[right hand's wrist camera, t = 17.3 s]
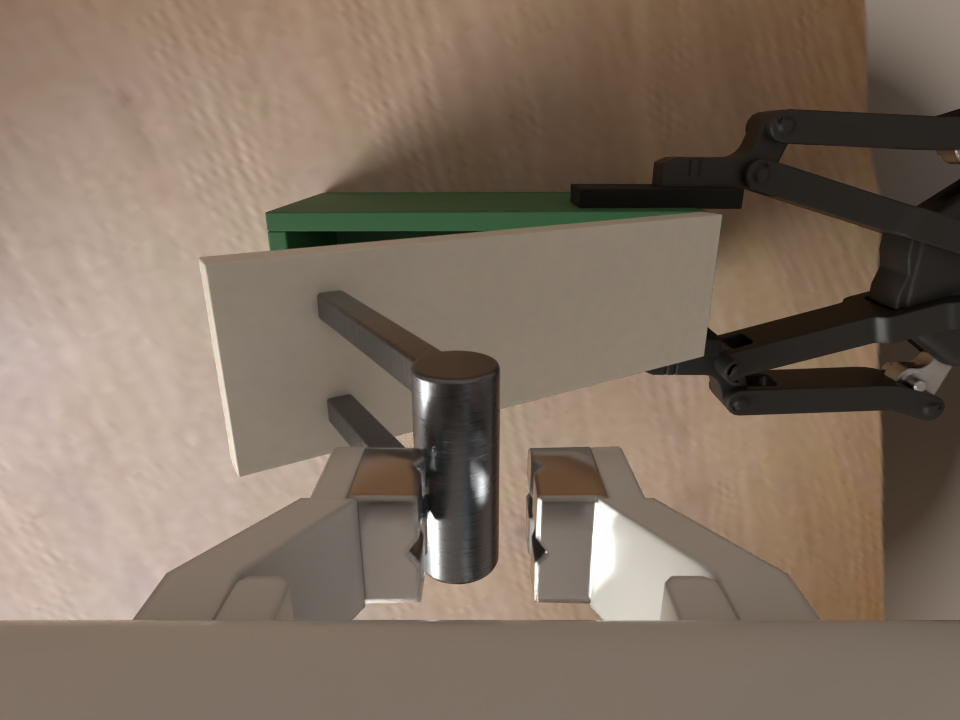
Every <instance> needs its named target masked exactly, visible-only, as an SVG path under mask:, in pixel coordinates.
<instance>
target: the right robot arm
mask: <svg viewBox="0 0 960 720" xmlns="http://www.w3.org/2000/svg"><path fill="white" fill-rule="evenodd" d="M428 475H429V468H428V453H427V448H383V447H368V448H366V447H365V446H363V447H337V448H334V449H333V451H332V453H331V455H330V457H329V459H328V462H327V464H326V466H325V468H324V470H323V472H322V474H321V476H320V478H319V480H318V482H317V485H316V487H315V489H314V491H313V493H312V495H311V497H310V498H301V499H299V500H297V501H295V502H293V503H292V504H290V505H288V506H286V507H284V508H283V509H281V510H279V511H277V512H275V513H274V514H272V515H270V516H268V517H267V518H265V519H263V520H261V521H259V522H258V523H256V524H254V525H252V526H250V527H249V528H247V529H245V530H243V531H241V532H240V533H238V534H236V535H234V536H233V537H231V538H229V539H227V540H225V541H224V542H222V543H220V544H218V545H216V546H215V547H213V548H211V549H209V550H207V551H206V552H204V553H202V554H200V555H198V556H197V557H195V558H193V559H191V560H190V561H188V562H186V563H184V564H182V565H181V566H179V567H177V568H175V569H173V570H172V571H170V572H168V573H166V575H165V576H164V577H163V579H162V580H161V582H160V583H159V584H158V586H157V587H156V588H155V590H154V591H153V593H152V594H151V595H150V597H149V598H148V599H147V601H146V602H145V604H144V605H143V606H142V608H141V609H140V610H139V612H138V613H137V615H136V616H135V617H134V619H133V620H0V720H960V620H820V619H819V617H818V616H817V614H816V613H815V611H814V610H813V609H812V607H811V606H810V604H809V603H808V602H807V600H806V599H805V597H804V596H803V594H802V593H801V592H800V590H799V589H798V587H797V586H796V585H795V583H794V582H793V580H792V579H791V577H790V576H789V575H788V574H787V573H785V572H783V571H782V570H780V569H778V568H776V567H775V566H773V565H771V564H769V563H767V562H766V561H764V560H762V559H760V558H759V557H757V556H755V555H753V554H752V553H750V552H748V551H746V550H744V549H743V548H741V547H739V546H737V545H736V544H734V543H732V542H730V541H729V540H727V539H725V538H723V537H722V536H720V535H718V534H716V533H714V532H713V531H711V530H709V529H707V528H706V527H704V526H702V525H700V524H699V523H697V522H695V521H693V520H691V519H690V518H688V517H686V516H684V515H683V514H681V513H679V512H677V511H676V510H674V509H672V508H670V507H668V506H667V505H665V504H663V503H661V502H660V501H658V500H656V499H654V498H645V497H644V495H643V493H642V491H641V489H640V487H639V484H638V482H637V480H636V478H635V476H634V474H633V472H632V470H631V467H630V465H629V463H628V461H627V459H626V457H625V455H624V453H623V450H622V448H620V447H618V446H615V447H594V448H590V447H566V448H530V449H529V450H528V463H527V476H528V484H529V492H530V493H529V494H528V495H527V496H526V534H527V546H528V553H529V554H530V555H531V569H530V572H531V580H532V588H533V596H534V602H555V603H590V606H591V607H592V608H593V610H594V611H595V612H596V613H597V614H598V615H599V616H600V617H601V618H602V619H603V620H353V619H354V618H355V617H356V615H357V614H358V613H359V612H360V611H361V610H362V609H363V608H364V607H365V603H399V602H421V599H422V591H423V584H424V577H425V555H426V554H427V553H428V544H429V530H430V497H429V495H428V494H427V493H426V489H427V482H428Z"/></svg>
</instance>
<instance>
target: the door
mask: <svg viewBox="0 0 960 720" xmlns="http://www.w3.org/2000/svg"><path fill="white" fill-rule="evenodd" d="M721 222H722V214H715V213H707V212H694V213H683V214H672V215H661V216H649V217H638V218H627V219H616V220H605V221H594V222H583V223H572V224H561V225H550V226H539V227H528V228H517V229H506V230H495V231H484V232H473V233H462V234H451V235H440V236H429V237H418V238H407V239H396V240H385V241H374V242H363V243H352V244H341V245H329V246H318V247H307V248H296V249H285V250H274V251H263V252H252V253H241V254H230V255H219V256H208V257H200V258H199V265H200V271H201V277H202V283H203V289H204V295H205V301H206V307H207V314H208V320H209V326H210V332H211V338H212V344H213V350H214V356H215V362H216V369H217V375H218V381H219V387H220V393H221V399H222V405H223V411H224V417H225V423H226V430H227V436H228V442H229V448H230V454H231V460H232V463H233V465H234V467H235V470H236V472H237V474H238V476H239V477H241V476H245V475H249V474H252V473H256V472H260V471H264V470H268V469H272V468H275V467H279V466H283V465H287V464H291V463H295V462H299V461H302V460H306V459H310V458H314V457H318V456H322V455H325V454H329V453H332V451H333V449H334V448H337V447H363V446H365V447H366V448H368V447H383V448H405V447H404V446H403V445H402V444H401V443H400V442H399V441H398V440H397V439H396V438H395V436H399V435H402V434H406V433H410V432H413V436H414V448H427V453H428V468H429V475H428V482H427V489H426V493H427V494H428V495H429V497H430V530H429V544H428V553H427V554H426V555H425V572H426V573H427V574H428V575H429V576H430V577H432V578H434V579H436V580H438V581H441V582H444V583H449V584H466V583H471V582H475V581H477V580H480V579H482V578H484V577H485V576H487V575H488V574H489V573H490V572H491V571H492V570H493V569H494V567H495V566H496V564H497V561H498V552H499V440H500V409H502V408H506V407H510V406H514V405H518V404H522V403H525V402H529V401H533V400H537V399H541V398H545V397H549V396H552V395H556V394H560V393H564V392H568V391H572V390H575V389H579V388H583V387H587V386H591V385H595V384H599V383H602V382H606V381H610V380H614V379H618V378H622V377H625V376H629V375H633V374H637V373H641V372H645V371H649V370H652V369H656V368H660V367H664V366H668V365H672V364H675V363H679V362H683V361H687V360H691V359H695V358H699V357H702V356H704V351H705V343H706V336H707V328H708V320H709V313H710V305H711V298H712V290H713V283H714V275H715V267H716V260H717V252H718V245H719V237H720V229H721Z"/></svg>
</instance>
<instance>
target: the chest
mask: <svg viewBox="0 0 960 720" xmlns="http://www.w3.org/2000/svg"><path fill="white" fill-rule="evenodd" d="M570 195H571V192H461V193H321V194H318V195H315V196H312V197H309V198H306V199H304V200H301V201H298V202H295V203H292V204H289V205H286V206H283V207H280V208H277V209H274V210H271V211H268V212H266V213H265V214H266V223H267V230H268V231H269V232H268V238H269V246H270V251H274V250H285V249H296V248H307V247H318V246H329V245H341V244H352V243H363V242H374V241H385V240H396V239H407V238H418V237H429V236H440V235H451V234H462V233H473V232H484V231H495V230H506V229H517V228H528V227H539V226H550V225H561V224H572V223H583V222H594V221H605V220H616V219H627V218H638V217H649V216H661V215H672V214H683V213H694V212H706V211H703V210H700V209H697V208H578V207H577V206H576V205H574V204H573V203H572V202H570Z"/></svg>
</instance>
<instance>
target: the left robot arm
mask: <svg viewBox="0 0 960 720" xmlns="http://www.w3.org/2000/svg"><path fill="white" fill-rule="evenodd" d="M787 144H805V145H826V146H847V147H867V148H889V149H913V150H936V151H937V154H938V155H941V157H942V159H943V160H944V161H945V162H946V163H950V164H960V109H957V110H954V111H951V112H948V113H945V114H941V115H938V116H918V115H898V114H877V113H857V112H836V111H816V110H795V109H787V110H775V111H765V112H758V113H756V114H754V115H752V116H751V117H750V119H749V120H748V121H747V124H746V135H745V137H744V139H743V141H742V143H741V145H740V147H739V148H738V149H737V150H736V151H735V152H734V153H733V154H731V155H729V156H726V157H665V158H663V159H660V160H658V161H655V162H654V169H653V180H652V184H571V195H570V202H572V203H573V204H574V205H576V206H577V207H578V208H697V209H741V207H742V200H743V194H744V189H745V190H748V191H752V192H755V193H758V194H761V195H764V196H767V197H771V198H774V199H777V200H780V201H783V202H786V203H790V204H793V205H796V206H799V207H802V208H805V209H808V210H812V211H815V212H818V213H821V214H824V215H827V216H831V217H834V218H837V219H840V220H843V221H846V222H850V223H853V224H856V225H859V226H861V227H864V228H867V229H870V230H873V231H876V232H880V233H883V235H882V239H881V244H880V248H879V249H880V267H879V269H878V271H877V273H876V275H875V277H874V279H873V281H872V283H871V288H870V291H868V292H865V293H861V294H857V295H853V296H850V297H847V298H845V299H843V302H842V303H839V304H835V305H832V306H828V307H824V308H820V309H816V310H813V311H809V312H805V313H801V314H797V315H794V316H790V317H786V318H782V319H779V320H775V321H771V322H767V323H763V324H760V325H756V326H752V327H748V328H744V329H741V330H737V331H733V332H729V333H725V334H722V335H718V336H717V335H716V334H715V333H714V332H713V331H712V330H710V329H709V328H707V336H706V343H705V351H704V356H702V357H699V358H695V359H691V360H687V361H683V362H679V363H675V364H672V365H668V366H664V367H660V368H656V369H652V370H649V371H645V372H647V373H650V374H653V375H665V374H667V375H674V374H675V375H709V378H710V382H709V388H710V390H711V391H712V392H713V394H714V395H715V396H716V397H717V398H718V399H719V400H720V401H721V402H722V404H723V405H724V406H725V407H726V408H727V409H728V410H729V411H730V412H731V413H732V414H734V415H765V414H793V413H820V412H848V411H876V410H893V411H896V412H900V413H903V414H906V415H909V416H912V417H915V418H919V419H922V420H928V421H929V420H933V419H935V418H937V417H939V416H940V415H941V413H942V412H943V410H944V402H943V400H942V399H941V398H939V397H937V396H935V393H936V391H937V390H938V388H939V387H940V385H941V383H942V382H943V380H944V379H945V377H946V375H947V374H948V372H949V371H950V369H951V367H952V366H960V179H959V180H958V181H956V182H954V183H953V184H951V185H950V186H948V187H946V188H945V189H943V190H942V191H940V192H938V193H937V194H935V195H934V196H932V197H930V198H929V199H927V200H926V201H924V202H922V203H921V204H919V205H918V206H912V205H909V204H905V203H902V202H899V201H896V200H893V199H890V198H887V197H883V196H880V195H877V194H874V193H871V192H868V191H865V190H862V189H859V188H856V187H853V186H849V185H846V184H843V183H840V182H837V181H834V180H831V179H828V178H825V177H822V176H818V175H815V174H812V173H809V172H806V171H803V170H800V169H797V168H794V167H791V166H787V165H784V164H781V163H778V162H779V160H780V158H781V156H782V154H783V152H784V150H785V148H786V146H787ZM904 340H907V341H908V342H909V343H911V344H912V345H913V346H914V347H915V348H917V349H918V350H919V351H920V352H921V353H920V354H919V355H918V357H916V358H915V359H914V360H912V361H908V362H896V363H886V364H884V365H883V367H882V370H878V369H874V368H867V367H839V368H812V369H785V370H770V369H773V368H777V367H781V366H785V365H789V364H793V363H797V362H801V361H805V360H809V359H813V358H816V357H820V356H824V355H828V354H832V353H836V352H840V351H844V350H848V349H852V348H855V347H859V346H863V345H867V344H871V343H886V344H887V343H897V342H901V341H904Z"/></svg>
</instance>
